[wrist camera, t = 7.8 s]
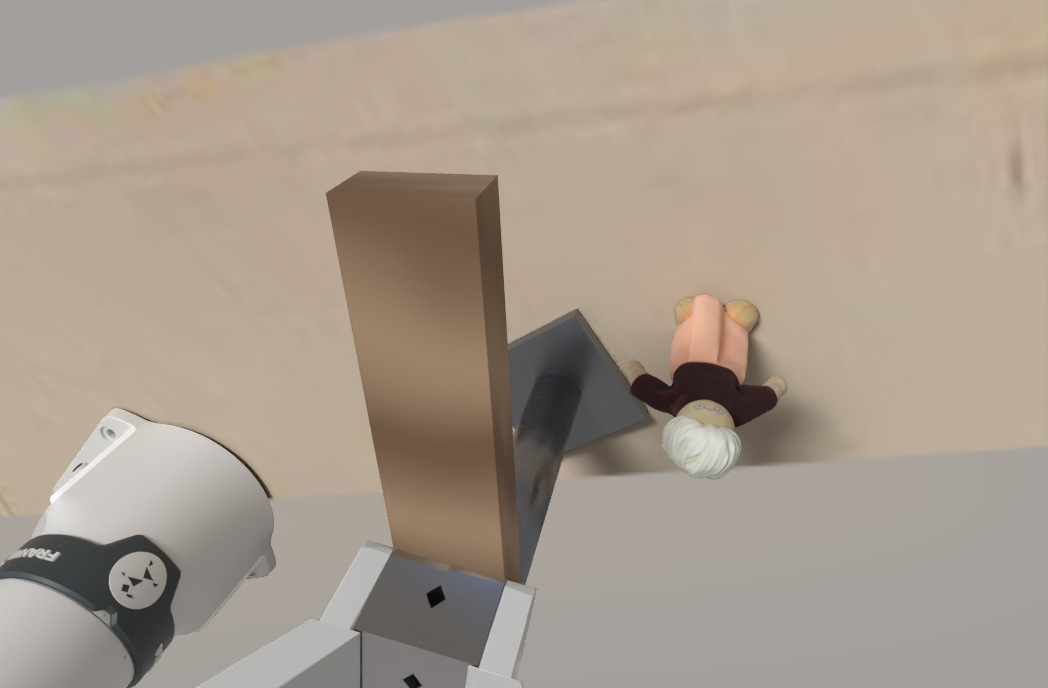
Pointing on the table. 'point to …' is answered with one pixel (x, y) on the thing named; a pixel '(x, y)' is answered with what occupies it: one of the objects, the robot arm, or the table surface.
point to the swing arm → (434, 359)
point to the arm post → (559, 411)
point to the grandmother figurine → (707, 386)
